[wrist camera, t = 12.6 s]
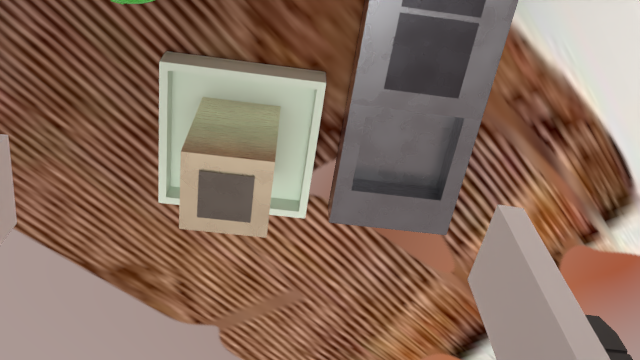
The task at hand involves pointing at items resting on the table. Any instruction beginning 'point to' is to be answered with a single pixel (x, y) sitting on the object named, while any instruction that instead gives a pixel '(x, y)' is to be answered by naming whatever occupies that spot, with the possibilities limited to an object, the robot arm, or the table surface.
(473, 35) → the grey compartment tray
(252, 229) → the square wooden post
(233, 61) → the parts tray
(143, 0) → the snack cup
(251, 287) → the table surface
